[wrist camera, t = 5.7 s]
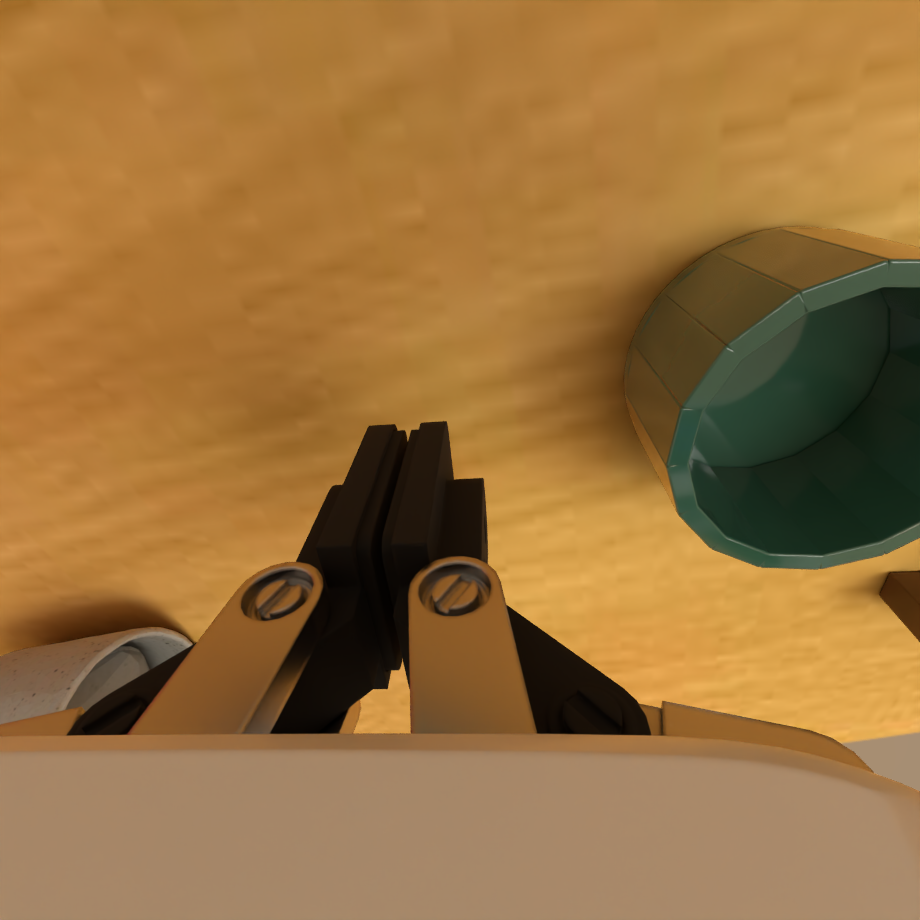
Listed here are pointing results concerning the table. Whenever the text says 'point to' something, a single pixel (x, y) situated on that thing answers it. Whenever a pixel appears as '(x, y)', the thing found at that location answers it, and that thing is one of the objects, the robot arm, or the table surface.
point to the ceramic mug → (80, 670)
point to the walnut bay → (904, 598)
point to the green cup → (787, 396)
